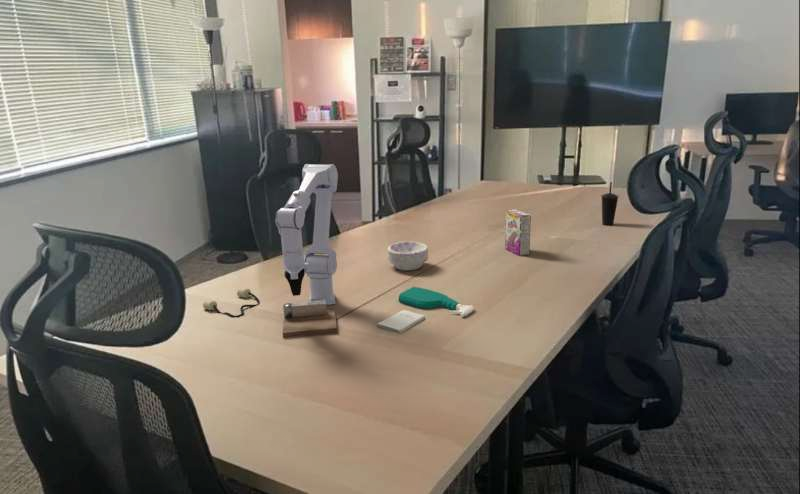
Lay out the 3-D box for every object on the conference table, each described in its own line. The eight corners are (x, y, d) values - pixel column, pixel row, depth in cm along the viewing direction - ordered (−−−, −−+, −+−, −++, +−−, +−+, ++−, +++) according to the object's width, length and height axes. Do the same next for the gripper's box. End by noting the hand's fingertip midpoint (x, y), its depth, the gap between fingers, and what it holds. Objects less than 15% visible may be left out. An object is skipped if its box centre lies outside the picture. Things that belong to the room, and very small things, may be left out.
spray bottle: (415, 293, 188) (479, 310, 173) (395, 303, 179) (460, 322, 165) (415, 284, 187) (479, 301, 172) (395, 294, 178) (460, 313, 164)
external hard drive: (377, 328, 162) (403, 314, 172) (399, 335, 157) (425, 320, 167) (377, 323, 162) (403, 309, 171) (399, 330, 157) (425, 315, 166)
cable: (274, 304, 182) (273, 294, 181) (233, 321, 170) (231, 311, 169) (243, 294, 191) (242, 284, 190) (202, 310, 179) (200, 300, 178)
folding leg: (283, 318, 165) (282, 307, 164) (284, 314, 168) (283, 303, 167) (326, 314, 167) (325, 303, 166) (326, 310, 170) (325, 299, 169)
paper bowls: (405, 276, 203) (405, 255, 201) (380, 266, 214) (379, 246, 212) (436, 266, 212) (436, 246, 210) (410, 258, 223) (410, 239, 221)
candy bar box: (504, 249, 231) (505, 210, 227) (514, 247, 233) (515, 208, 228) (519, 256, 221) (520, 215, 217) (530, 254, 223) (531, 214, 218)
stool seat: (285, 316, 171) (283, 301, 169) (334, 312, 173) (333, 297, 171) (283, 337, 157) (281, 321, 155) (337, 332, 159) (335, 316, 157)
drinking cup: (618, 223, 265) (621, 181, 260) (614, 227, 259) (617, 184, 254) (601, 221, 269) (604, 180, 264) (597, 225, 263) (600, 183, 258)
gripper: (307, 256, 152) (311, 302, 156) (306, 241, 166) (310, 284, 170) (280, 258, 151) (285, 305, 155) (282, 243, 165) (286, 286, 169)
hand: (296, 294), depth 162 cm, fingers closed
